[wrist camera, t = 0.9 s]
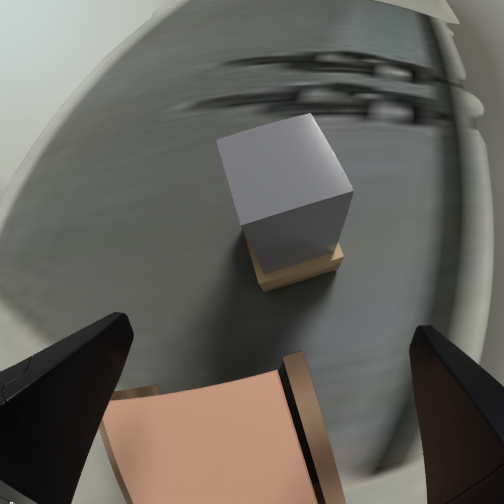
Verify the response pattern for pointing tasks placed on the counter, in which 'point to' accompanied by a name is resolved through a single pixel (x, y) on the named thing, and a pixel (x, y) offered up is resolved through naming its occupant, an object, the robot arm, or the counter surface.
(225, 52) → the counter surface
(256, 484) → the terracotta flap
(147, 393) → the walnut frame
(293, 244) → the granite block
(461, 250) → the counter surface
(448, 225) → the counter surface
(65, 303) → the counter surface
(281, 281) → the oak plinth
